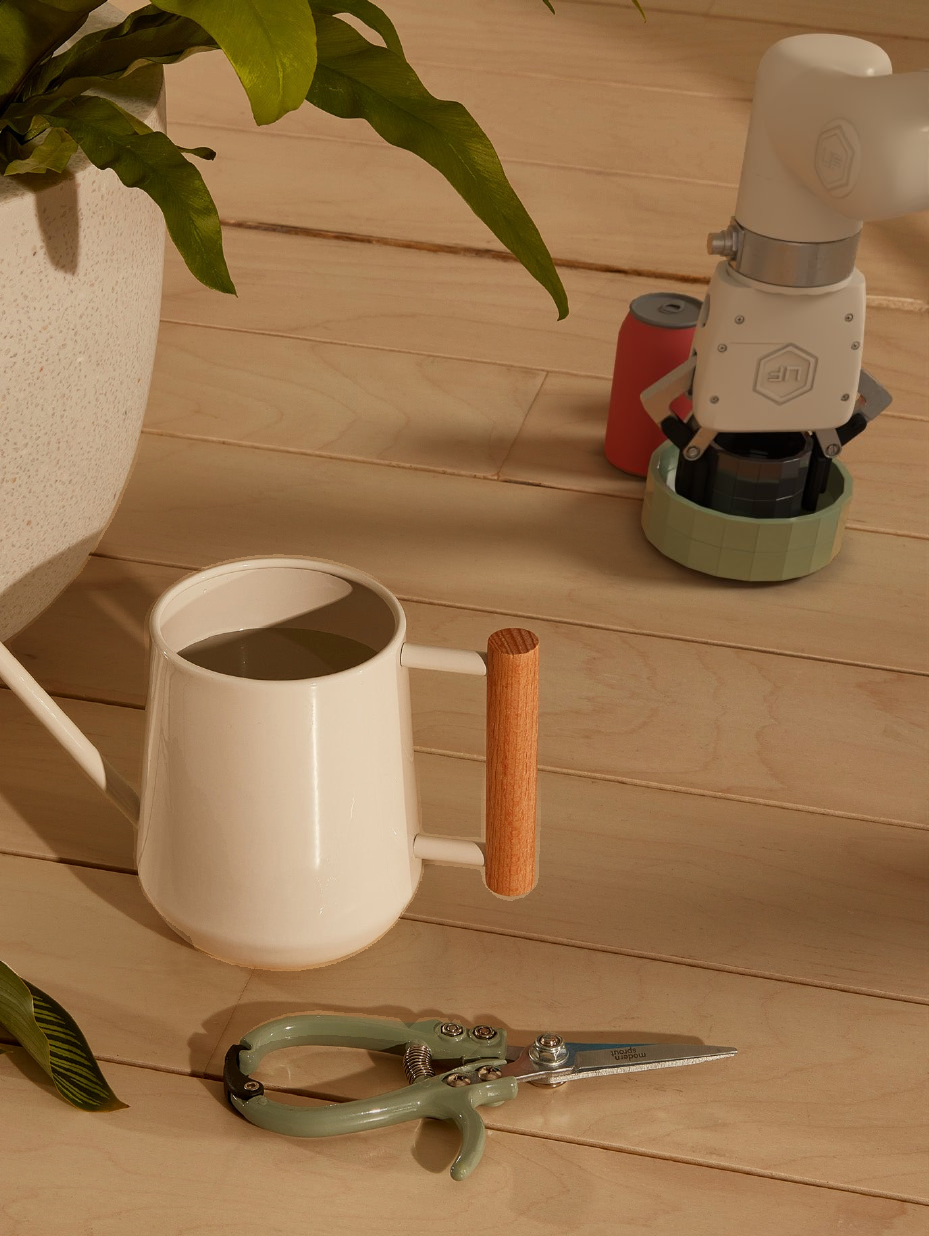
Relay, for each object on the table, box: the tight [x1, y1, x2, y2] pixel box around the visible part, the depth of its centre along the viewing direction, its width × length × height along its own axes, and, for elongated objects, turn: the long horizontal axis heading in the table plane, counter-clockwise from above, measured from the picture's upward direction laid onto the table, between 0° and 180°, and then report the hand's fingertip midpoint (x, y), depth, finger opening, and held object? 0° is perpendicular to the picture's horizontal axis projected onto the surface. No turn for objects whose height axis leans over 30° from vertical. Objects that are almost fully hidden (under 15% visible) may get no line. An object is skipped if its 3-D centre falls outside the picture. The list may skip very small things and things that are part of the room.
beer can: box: [603, 291, 704, 479], centre depth 124 cm, size 7×7×12 cm
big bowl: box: [640, 439, 854, 582], centre depth 117 cm, size 13×13×5 cm
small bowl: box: [702, 431, 814, 519], centre depth 115 cm, size 7×7×6 cm
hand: (747, 500), depth 117 cm, fingers closed on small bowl, 7 cm apart
